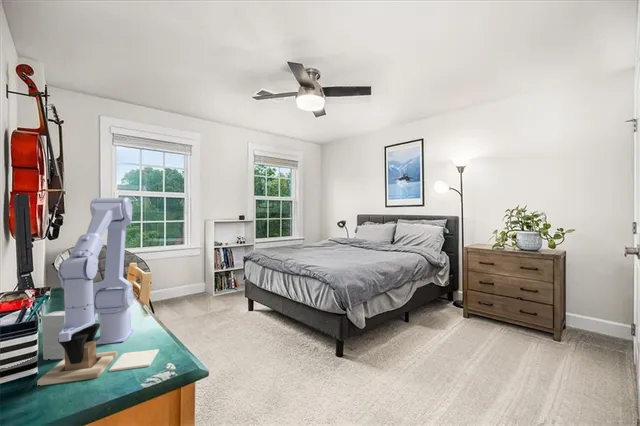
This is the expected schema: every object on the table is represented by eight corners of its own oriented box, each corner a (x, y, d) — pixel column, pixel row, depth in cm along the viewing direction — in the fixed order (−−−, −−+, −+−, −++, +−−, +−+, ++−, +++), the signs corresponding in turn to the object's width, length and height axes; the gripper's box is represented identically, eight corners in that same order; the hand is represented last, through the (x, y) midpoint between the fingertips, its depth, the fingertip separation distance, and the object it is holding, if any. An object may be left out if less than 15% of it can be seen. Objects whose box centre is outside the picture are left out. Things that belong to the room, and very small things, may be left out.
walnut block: (74, 366, 79) (73, 343, 79) (96, 363, 80) (95, 340, 80) (65, 374, 75) (64, 350, 75) (88, 371, 76) (88, 347, 76)
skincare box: (77, 352, 87) (76, 310, 87) (65, 359, 83) (64, 315, 83) (55, 353, 87) (54, 310, 87) (42, 360, 83) (40, 315, 82)
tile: (123, 355, 85) (123, 353, 85) (158, 350, 87) (158, 349, 87) (109, 371, 76) (109, 369, 76) (149, 366, 78) (149, 364, 78)
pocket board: (66, 361, 82) (66, 356, 82) (117, 355, 85) (117, 350, 85) (37, 385, 70) (37, 380, 70) (97, 377, 73) (97, 372, 73)
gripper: (76, 298, 83) (77, 348, 83) (42, 316, 69) (44, 375, 69) (105, 296, 85) (107, 345, 85) (78, 312, 71) (80, 371, 71)
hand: (81, 358), depth 77 cm, fingers closed on walnut block, 4 cm apart
